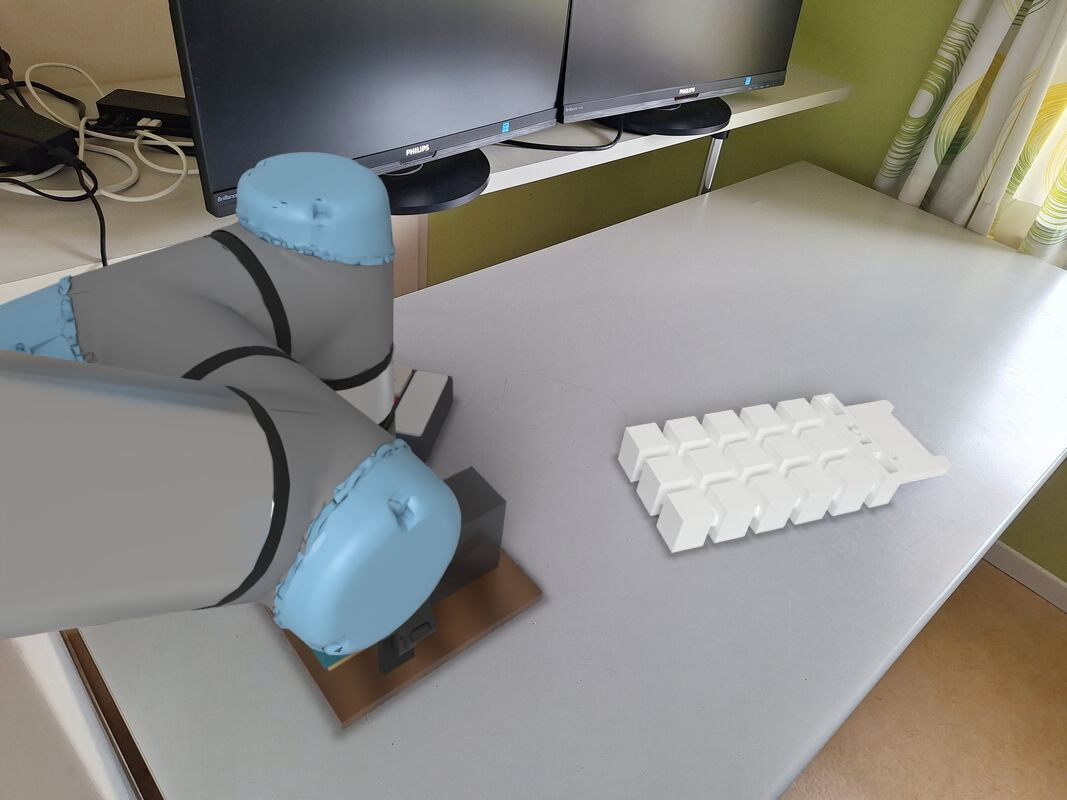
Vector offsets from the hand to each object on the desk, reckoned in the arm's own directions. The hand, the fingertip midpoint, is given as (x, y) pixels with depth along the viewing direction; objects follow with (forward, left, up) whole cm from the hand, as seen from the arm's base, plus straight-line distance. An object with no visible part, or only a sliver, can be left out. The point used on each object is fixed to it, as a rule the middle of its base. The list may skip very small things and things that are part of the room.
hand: (351, 600), depth 62 cm
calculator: (+15, +22, -5) cm, 27 cm away
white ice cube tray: (+48, -10, -5) cm, 49 cm away
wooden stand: (+5, 0, -4) cm, 7 cm away
